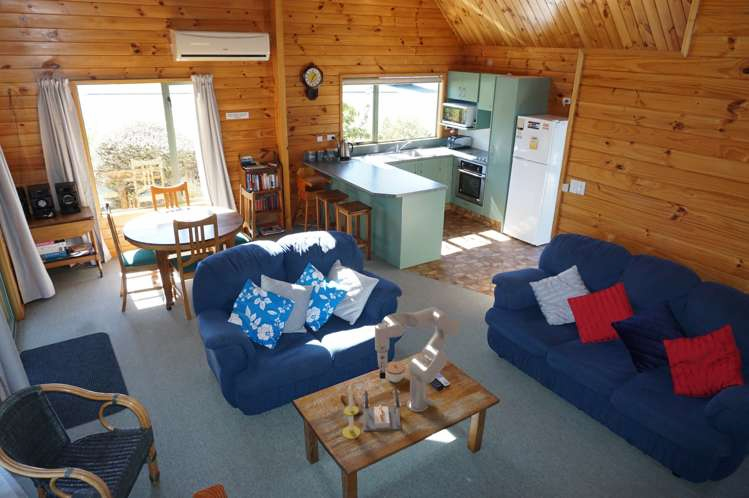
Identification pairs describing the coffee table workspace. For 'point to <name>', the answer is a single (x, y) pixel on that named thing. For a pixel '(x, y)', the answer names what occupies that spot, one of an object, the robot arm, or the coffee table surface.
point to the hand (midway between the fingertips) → (381, 372)
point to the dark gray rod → (397, 399)
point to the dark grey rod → (366, 400)
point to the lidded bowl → (395, 371)
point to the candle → (351, 417)
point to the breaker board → (372, 425)
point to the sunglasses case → (346, 402)
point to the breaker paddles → (380, 412)
